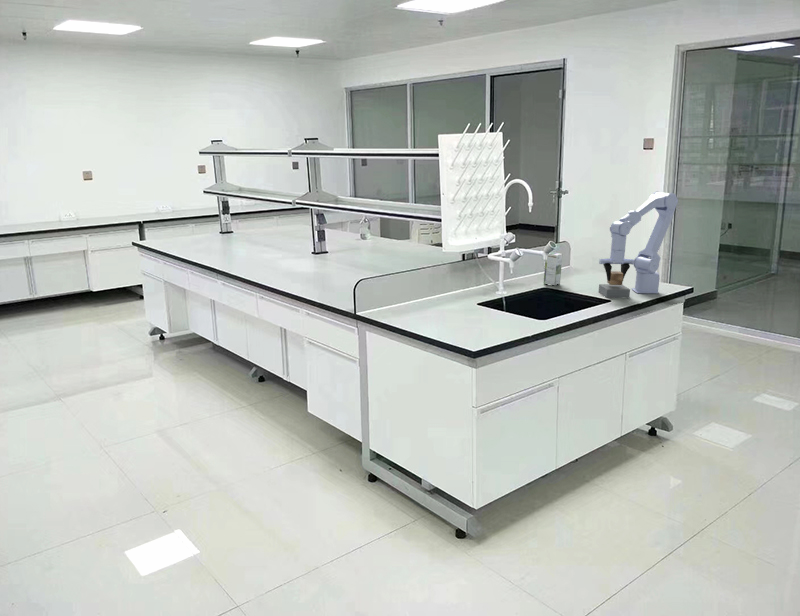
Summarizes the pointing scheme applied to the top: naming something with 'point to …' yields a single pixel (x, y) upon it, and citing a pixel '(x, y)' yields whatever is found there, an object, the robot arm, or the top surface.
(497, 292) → the top surface
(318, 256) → the top surface
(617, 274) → the walnut cube
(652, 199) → the robot arm
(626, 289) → the charcoal base block
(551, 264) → the syrup box
